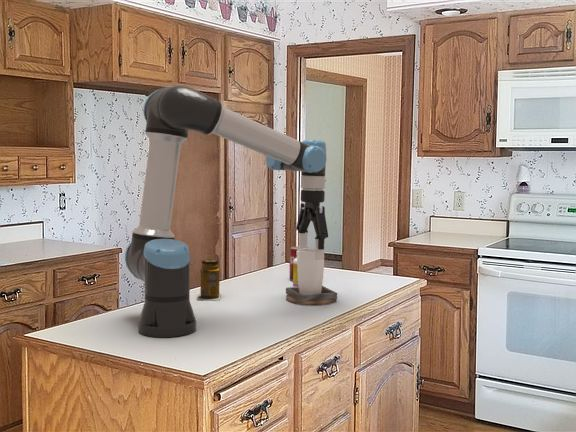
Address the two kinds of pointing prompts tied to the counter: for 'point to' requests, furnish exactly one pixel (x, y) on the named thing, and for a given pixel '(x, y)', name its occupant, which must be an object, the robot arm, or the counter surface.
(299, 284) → the cup
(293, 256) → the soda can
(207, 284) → the condiment
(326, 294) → the dark brown tray
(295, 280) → the supplement bottle
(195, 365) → the counter surface
